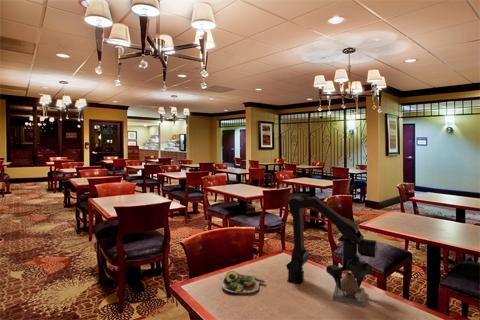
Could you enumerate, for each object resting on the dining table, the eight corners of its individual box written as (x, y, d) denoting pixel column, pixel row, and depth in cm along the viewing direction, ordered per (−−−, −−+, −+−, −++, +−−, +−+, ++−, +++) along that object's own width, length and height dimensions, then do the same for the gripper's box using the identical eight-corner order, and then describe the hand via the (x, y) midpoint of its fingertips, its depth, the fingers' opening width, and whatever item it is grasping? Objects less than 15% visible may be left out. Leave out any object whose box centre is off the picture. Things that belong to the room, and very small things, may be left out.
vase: (361, 295, 119) (362, 275, 118) (350, 300, 115) (350, 279, 115) (348, 288, 125) (348, 268, 124) (336, 292, 121) (337, 272, 121)
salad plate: (264, 276, 138) (264, 267, 138) (265, 296, 121) (265, 286, 120) (225, 275, 140) (225, 266, 139) (220, 295, 122) (220, 284, 122)
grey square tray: (332, 299, 117) (332, 295, 117) (335, 286, 128) (335, 282, 128) (363, 307, 112) (363, 302, 112) (364, 292, 123) (364, 288, 123)
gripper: (341, 262, 109) (340, 301, 110) (382, 257, 113) (381, 295, 114) (325, 251, 120) (325, 287, 121) (364, 247, 124) (363, 282, 125)
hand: (348, 288), depth 120 cm, fingers open, 9 cm apart
